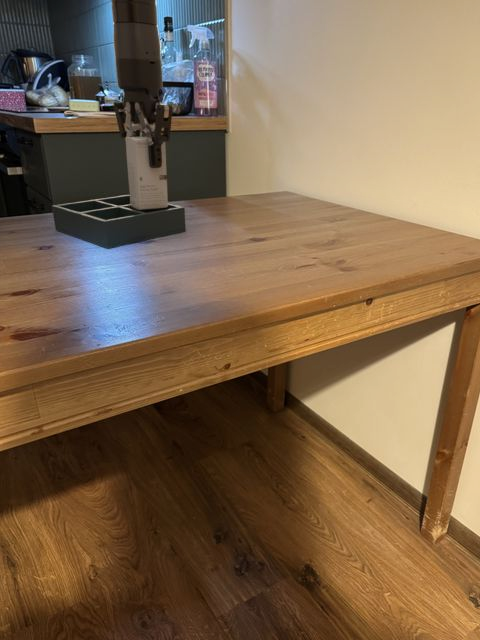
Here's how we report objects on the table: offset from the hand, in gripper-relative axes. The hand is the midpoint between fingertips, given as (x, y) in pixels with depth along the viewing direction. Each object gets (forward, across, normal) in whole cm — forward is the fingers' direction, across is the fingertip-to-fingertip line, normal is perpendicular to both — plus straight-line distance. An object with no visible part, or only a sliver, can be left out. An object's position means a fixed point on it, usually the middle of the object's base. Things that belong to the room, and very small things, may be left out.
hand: (146, 165), depth 90 cm
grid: (+12, -4, -4) cm, 13 cm away
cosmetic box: (+8, 0, 0) cm, 8 cm away
